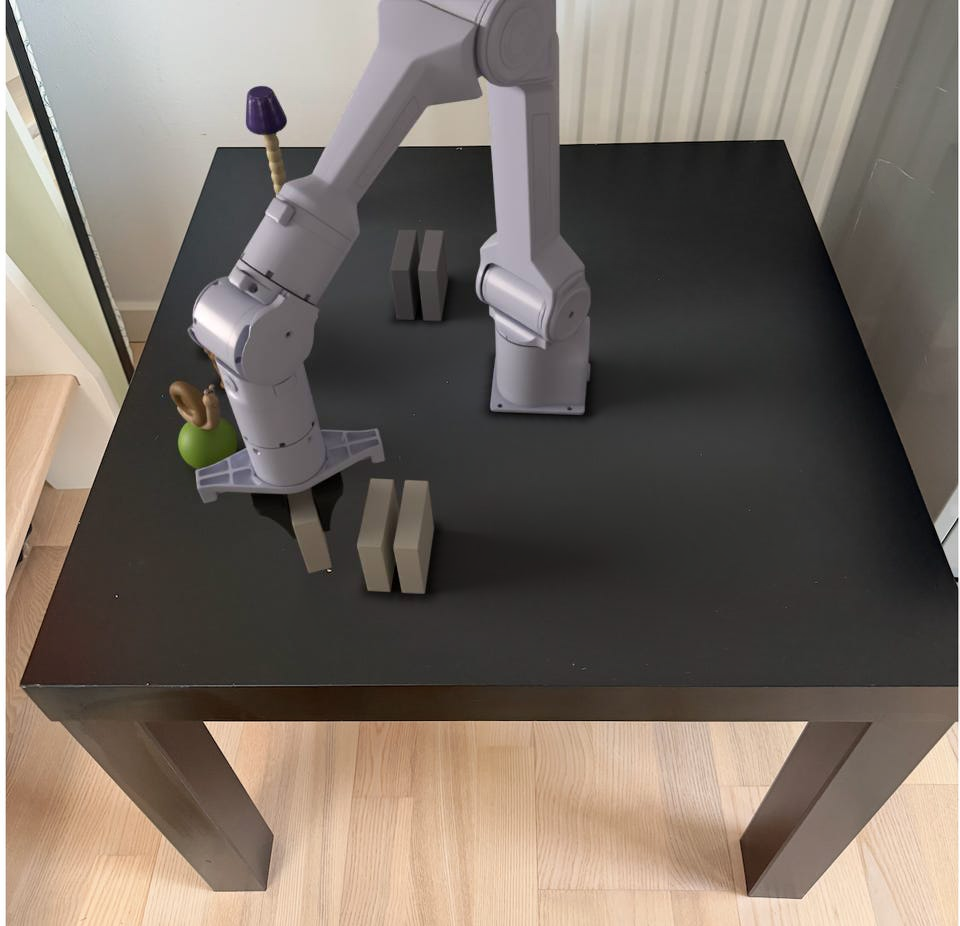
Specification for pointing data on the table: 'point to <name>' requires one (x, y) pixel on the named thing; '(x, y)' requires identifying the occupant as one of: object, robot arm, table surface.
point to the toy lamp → (267, 128)
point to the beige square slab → (309, 530)
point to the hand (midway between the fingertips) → (310, 525)
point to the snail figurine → (202, 426)
